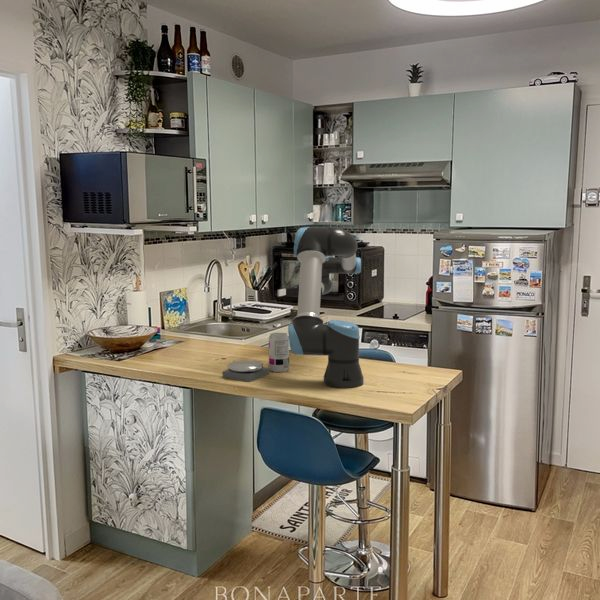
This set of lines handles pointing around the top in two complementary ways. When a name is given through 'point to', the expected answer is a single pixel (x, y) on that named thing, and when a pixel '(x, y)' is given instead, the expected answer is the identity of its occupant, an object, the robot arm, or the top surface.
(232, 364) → the scale plate
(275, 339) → the supplement can
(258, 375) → the scale frame
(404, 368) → the top surface
